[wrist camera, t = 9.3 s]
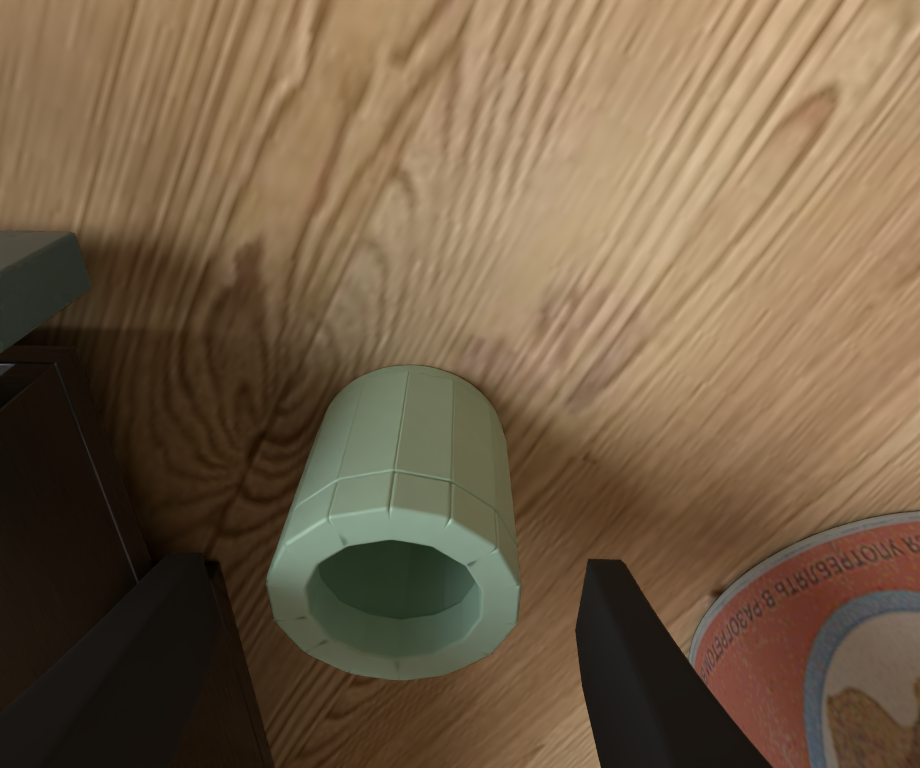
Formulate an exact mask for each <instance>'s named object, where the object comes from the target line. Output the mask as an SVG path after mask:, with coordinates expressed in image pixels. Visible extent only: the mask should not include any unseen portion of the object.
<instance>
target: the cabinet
mask: <svg viewBox="0 0 920 768" xmlns="http://www.w3.org/2000/svg"><path fill="white" fill-rule="evenodd" d="M151 562H152V565H153V567H154V566H155V565H157V564H158V563H159V562H160V561H151ZM204 564H205V567H206V571H207V574H208V578H209V581H210V585H211V588H212V592H213V595H214V598H215V602H216V605H217V609H218V612H219V616H220V619H221V623H222V628H221V631H220V635H219V639H218V642H217V646H216V650H215V654H214V657H213V660H212V664H211V667H210V670H209V674H208V677H207V681H206V683H205V686H204V688H203V691H202V693H201V696H200V698H199V701H198V703H197V706H196V708H195V710H194V713H193V715H192V718H191V720H190V723H189V725H188V728H187V730H186V732H185V735H184V737H183V740H182V742H181V744H180V747H179V749H178V752H177V754H176V756H175V759H174V761H173V764H172V766H171V768H274V765H273V761H272V757H271V754H270V750H269V746H268V742H267V739H266V735H265V731H264V728H263V724H262V720H261V716H260V713H259V709H258V705H257V702H256V698H255V694H254V691H253V687H252V683H251V679H250V676H249V672H248V668H247V665H246V661H245V657H244V653H243V650H242V646H241V642H240V639H239V635H238V631H237V627H236V624H235V620H234V616H233V613H232V609H231V605H230V602H229V598H228V594H227V590H226V587H225V583H224V579H223V576H222V572H221V568H220V564H219V563H218V562H204Z"/></svg>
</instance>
